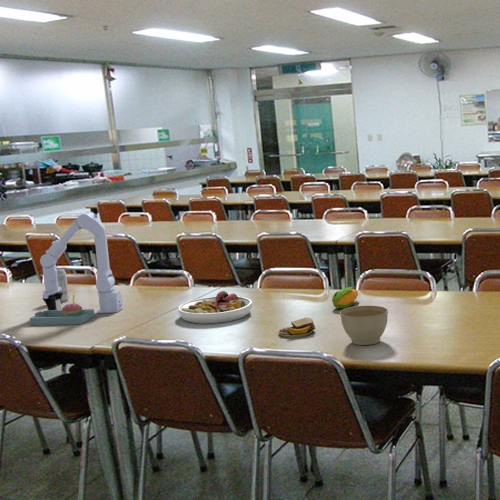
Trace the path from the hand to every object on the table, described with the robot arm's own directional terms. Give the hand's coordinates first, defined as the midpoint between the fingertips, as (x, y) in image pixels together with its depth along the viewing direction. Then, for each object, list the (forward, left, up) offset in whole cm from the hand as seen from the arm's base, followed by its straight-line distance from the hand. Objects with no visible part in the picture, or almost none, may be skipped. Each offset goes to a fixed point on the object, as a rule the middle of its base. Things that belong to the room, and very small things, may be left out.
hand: (54, 310), depth 344 cm
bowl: (-76, +10, -2) cm, 77 cm away
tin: (0, 0, -1) cm, 1 cm away
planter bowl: (-139, +51, -2) cm, 148 cm away
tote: (-10, +12, -1) cm, 15 cm away
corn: (-128, -1, -2) cm, 128 cm away
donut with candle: (-14, +12, -2) cm, 19 cm away
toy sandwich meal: (-114, +38, -2) cm, 120 cm away
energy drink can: (+8, -25, -2) cm, 26 cm away
